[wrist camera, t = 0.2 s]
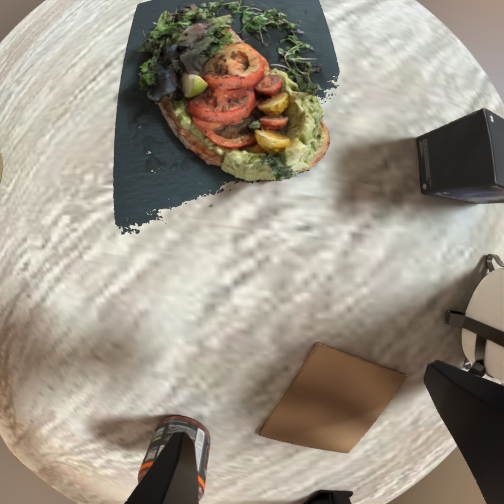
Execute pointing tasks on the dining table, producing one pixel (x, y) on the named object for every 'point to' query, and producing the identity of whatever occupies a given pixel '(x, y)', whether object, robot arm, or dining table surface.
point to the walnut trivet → (332, 401)
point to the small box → (464, 159)
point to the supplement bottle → (196, 434)
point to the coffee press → (484, 325)
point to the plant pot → (1, 166)
